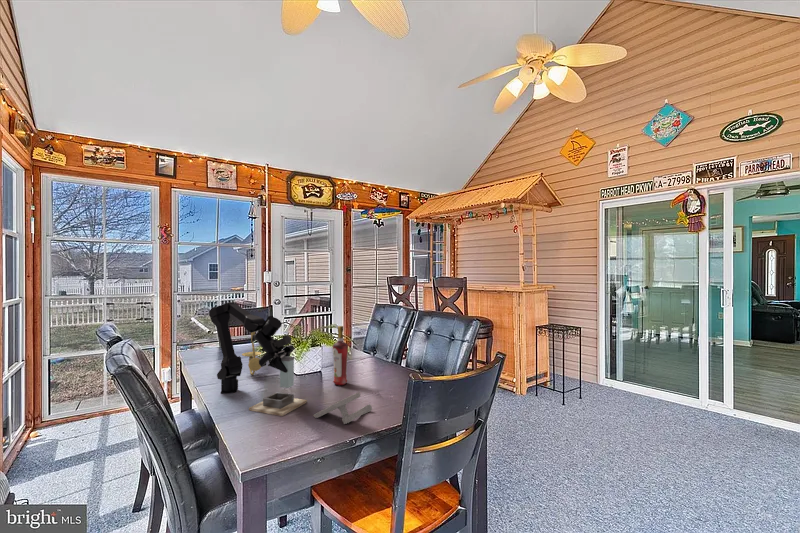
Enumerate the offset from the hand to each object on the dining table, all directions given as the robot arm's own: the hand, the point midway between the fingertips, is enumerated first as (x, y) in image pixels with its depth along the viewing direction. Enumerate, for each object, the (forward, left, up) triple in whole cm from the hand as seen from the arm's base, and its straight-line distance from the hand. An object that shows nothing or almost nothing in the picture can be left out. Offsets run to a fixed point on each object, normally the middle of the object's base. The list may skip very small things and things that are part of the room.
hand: (289, 370), depth 162 cm
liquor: (+25, +20, -14) cm, 34 cm away
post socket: (-4, -3, -13) cm, 14 cm away
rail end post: (-1, +1, -7) cm, 7 cm away
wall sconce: (-16, +50, -14) cm, 54 cm away
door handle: (+20, -21, -14) cm, 32 cm away
